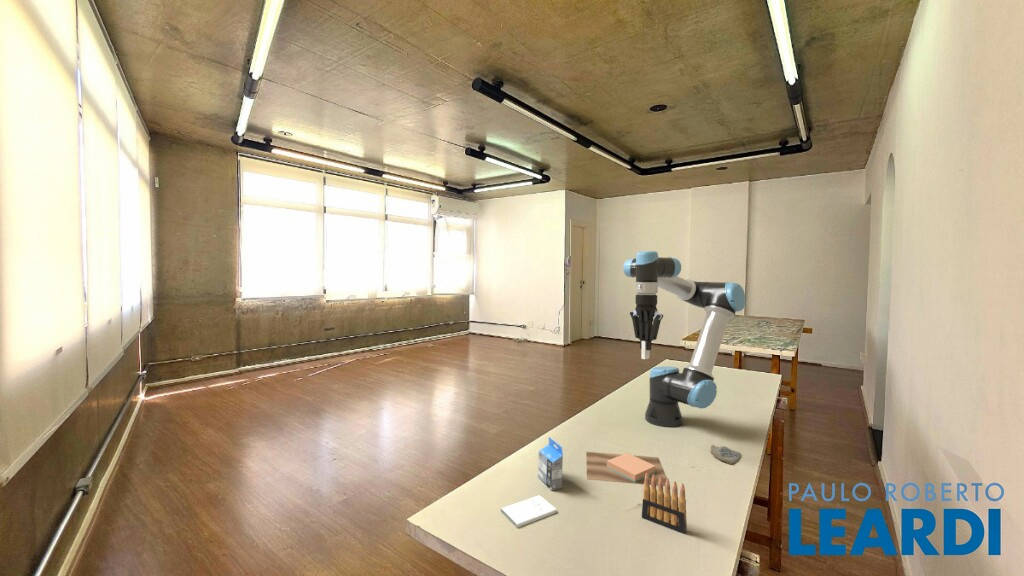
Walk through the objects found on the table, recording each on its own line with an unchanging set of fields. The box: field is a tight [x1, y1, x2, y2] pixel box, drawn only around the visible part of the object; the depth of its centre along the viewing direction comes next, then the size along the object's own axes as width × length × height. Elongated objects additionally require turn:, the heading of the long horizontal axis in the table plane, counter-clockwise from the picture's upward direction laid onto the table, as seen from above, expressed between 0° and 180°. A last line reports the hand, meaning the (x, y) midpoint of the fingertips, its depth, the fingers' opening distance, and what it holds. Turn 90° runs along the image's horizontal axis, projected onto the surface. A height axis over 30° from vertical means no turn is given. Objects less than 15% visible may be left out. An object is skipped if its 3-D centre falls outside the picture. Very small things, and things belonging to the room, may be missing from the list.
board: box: [586, 451, 668, 487], centre depth 129 cm, size 19×24×1 cm
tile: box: [607, 452, 656, 482], centre depth 127 cm, size 2×10×11 cm
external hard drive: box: [500, 495, 558, 529], centre depth 107 cm, size 2×8×12 cm
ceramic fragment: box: [710, 444, 742, 465], centre depth 140 cm, size 11×3×10 cm
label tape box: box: [537, 436, 564, 491], centre depth 121 cm, size 9×4×12 cm, turn 23°
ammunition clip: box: [641, 473, 688, 535], centre depth 101 cm, size 11×2×12 cm, turn 52°
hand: (645, 358), depth 146 cm, fingers closed
